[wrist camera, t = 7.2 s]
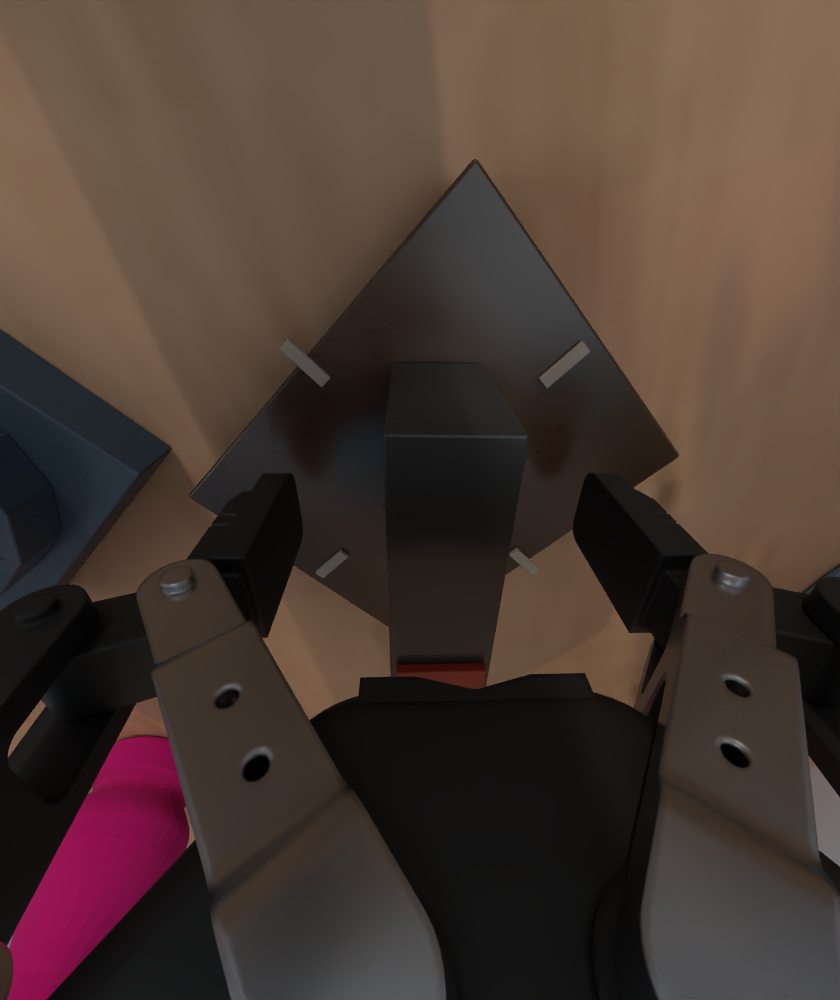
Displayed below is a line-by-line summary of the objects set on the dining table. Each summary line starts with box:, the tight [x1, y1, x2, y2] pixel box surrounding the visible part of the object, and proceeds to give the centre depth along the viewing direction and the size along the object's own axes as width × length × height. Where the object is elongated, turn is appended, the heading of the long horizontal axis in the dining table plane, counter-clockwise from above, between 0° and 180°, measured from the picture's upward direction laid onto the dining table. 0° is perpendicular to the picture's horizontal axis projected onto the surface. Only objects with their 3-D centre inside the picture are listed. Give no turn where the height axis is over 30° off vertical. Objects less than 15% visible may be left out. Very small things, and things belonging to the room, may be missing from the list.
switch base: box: [189, 159, 679, 627], centre depth 14 cm, size 12×11×3 cm
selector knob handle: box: [383, 363, 529, 689], centre depth 10 cm, size 7×2×5 cm, turn 179°
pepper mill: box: [7, 736, 189, 1000], centre depth 18 cm, size 7×7×20 cm
